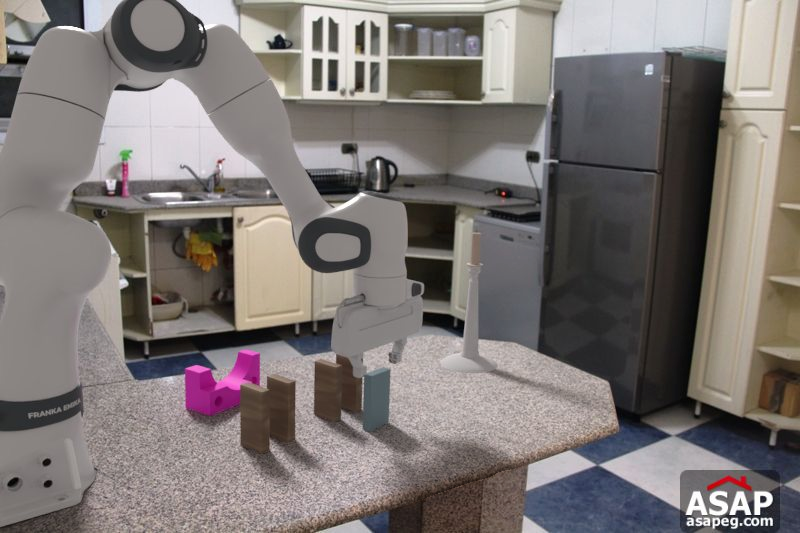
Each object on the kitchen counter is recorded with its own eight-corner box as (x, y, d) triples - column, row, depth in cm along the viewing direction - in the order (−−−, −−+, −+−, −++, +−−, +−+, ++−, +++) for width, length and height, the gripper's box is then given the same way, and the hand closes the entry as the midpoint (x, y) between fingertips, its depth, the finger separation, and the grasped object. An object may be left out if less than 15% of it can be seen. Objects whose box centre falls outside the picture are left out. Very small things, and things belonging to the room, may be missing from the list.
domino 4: (355, 413, 129) (357, 360, 128) (335, 406, 132) (336, 354, 131) (361, 411, 131) (362, 358, 129) (341, 404, 134) (342, 352, 132)
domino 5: (388, 424, 125) (390, 369, 123) (369, 433, 121) (371, 376, 120) (381, 421, 126) (383, 367, 124) (362, 430, 122) (364, 374, 121)
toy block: (210, 417, 126) (209, 375, 125) (185, 408, 130) (184, 368, 128) (269, 393, 139) (269, 355, 137) (245, 386, 142) (245, 349, 141)
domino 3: (334, 422, 125) (335, 367, 123) (313, 415, 128) (314, 361, 126) (340, 420, 126) (342, 365, 125) (320, 412, 129) (321, 359, 128)
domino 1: (261, 453, 112) (261, 392, 110) (240, 444, 115) (240, 384, 113) (269, 450, 114) (269, 389, 112) (248, 441, 117) (248, 382, 115)
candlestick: (494, 380, 150) (503, 236, 145) (434, 372, 153) (440, 232, 148) (502, 362, 162) (510, 229, 157) (446, 355, 166) (452, 225, 160)
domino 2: (287, 442, 117) (288, 383, 115) (266, 433, 120) (266, 376, 118) (295, 439, 118) (295, 380, 116) (274, 431, 121) (274, 373, 119)
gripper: (352, 304, 110) (351, 390, 113) (430, 283, 126) (427, 359, 129) (322, 297, 114) (321, 381, 116) (401, 277, 130) (399, 351, 132)
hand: (377, 369), depth 123 cm, fingers open, 8 cm apart
